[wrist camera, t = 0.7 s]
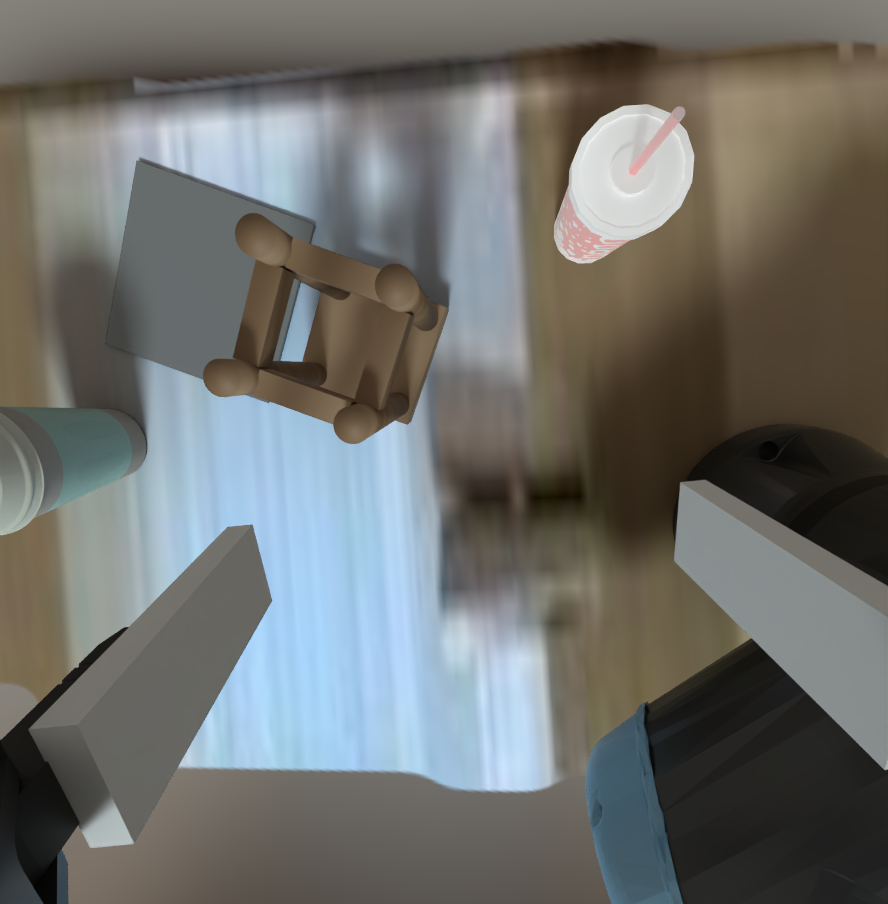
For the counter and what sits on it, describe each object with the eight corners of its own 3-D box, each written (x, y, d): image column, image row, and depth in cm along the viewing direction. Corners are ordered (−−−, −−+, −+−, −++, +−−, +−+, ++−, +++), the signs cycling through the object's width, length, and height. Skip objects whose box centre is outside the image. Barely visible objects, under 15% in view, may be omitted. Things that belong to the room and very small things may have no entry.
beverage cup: (534, 267, 31) (582, 185, 17) (553, 176, 30) (621, 10, 16) (617, 281, 31) (732, 210, 17) (639, 190, 29) (783, 33, 16)
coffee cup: (68, 383, 35) (-135, 390, 23) (166, 404, 35) (10, 422, 23) (66, 479, 37) (-124, 530, 25) (159, 500, 37) (11, 561, 25)
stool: (448, 311, 32) (429, 267, 18) (411, 421, 34) (368, 456, 20) (337, 271, 32) (235, 197, 18) (306, 383, 34) (192, 393, 20)
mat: (315, 225, 31) (313, 224, 31) (269, 402, 34) (267, 402, 34) (139, 162, 31) (136, 160, 31) (108, 344, 34) (105, 344, 34)
